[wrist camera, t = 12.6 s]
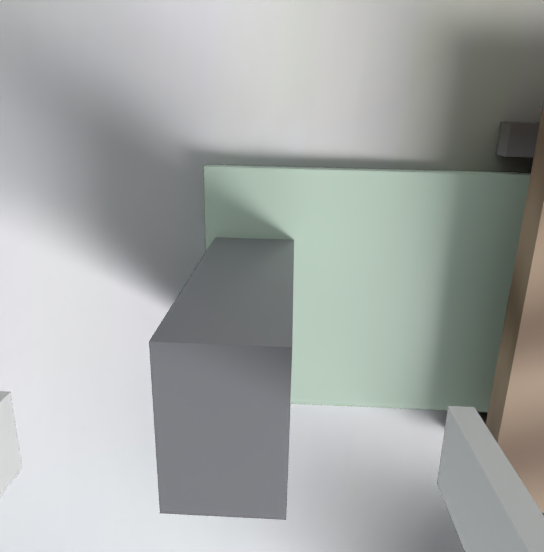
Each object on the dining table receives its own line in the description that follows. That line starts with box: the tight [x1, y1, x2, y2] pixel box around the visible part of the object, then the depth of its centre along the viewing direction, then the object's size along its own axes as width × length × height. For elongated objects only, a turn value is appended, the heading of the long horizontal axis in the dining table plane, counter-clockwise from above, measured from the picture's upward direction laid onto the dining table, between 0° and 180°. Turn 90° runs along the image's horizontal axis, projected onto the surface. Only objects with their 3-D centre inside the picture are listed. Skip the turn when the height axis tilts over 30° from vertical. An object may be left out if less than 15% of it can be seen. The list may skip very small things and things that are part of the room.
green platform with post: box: [149, 165, 531, 520], centre depth 21 cm, size 13×22×13 cm, turn 89°
